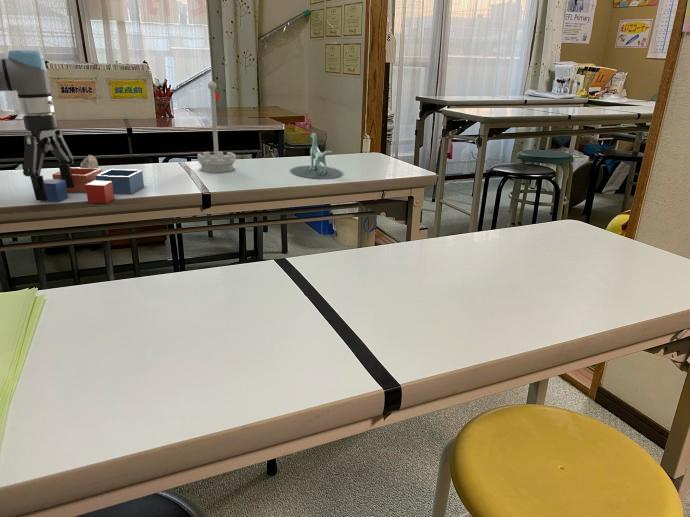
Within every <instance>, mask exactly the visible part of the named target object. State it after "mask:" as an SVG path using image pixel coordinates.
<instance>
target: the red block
mask: <svg viewBox="0 0 690 517" xmlns="http://www.w3.org/2000/svg"><path fill="white" fill-rule="evenodd" d="M85 186H86V193H85V194H86V199H87V203H88V204H108V203H110V202H111V201H113V200H115V194H114V193H113V186H112V181H92V182H90V183H88V184H86V185H85Z"/></svg>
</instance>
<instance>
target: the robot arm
mask: <svg viewBox="0 0 690 517" xmlns="http://www.w3.org/2000/svg"><path fill="white" fill-rule="evenodd" d="M7 56H8V58H0V92H13V91H16V94H17V97H18V98H17V99H18V102H19V108H20V112H21V114H23V116H22V120H23V125H24V129H25V130H26V131H28V132H30V135H29V136H28V135H27V136H26V135H25V136H23V143H24V153H23V168H22V174H23V176H25V177H29V178H30V181H31V185H32V188H33V194H34V198H35V201H37V202H48V201H47V200H48V198H47V193H46V189H45V184H44V180H45V179H44V176H43V175H41V172H42V167H43V163H44V158H45V155H46V154H47V153H48V152H49V151H50V153H51V154H52V155H53V157H54V158H55V159H56V160H57V161H58V162H59V164H58V169H59V172H60V174H61V179H62V180H65V181H66V187H67V188H74V185H73V180H72V175H71V169H70V168H71V165H73V164H74V157H73V154H72V152H71V150H70V148H69V147H68V145H67V143H66V140H65V138H64V136H63V132H62V130H61V129H59V125H58V120H57V116H56V115H55V114H54V113H55V106H54V103H55V102H54V100H53V98H52V92H51V86H50V81H49V76H48V71H47V66H46V63H45V59H44V55H43V53H42V52H41V51H39V50H35V49H34V50H33V49H31V50H26V49H25V50H23V49H22V50H16V49H15V50H14V49H13V50H9V51H8V55H7Z"/></svg>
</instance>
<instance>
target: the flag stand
mask: <svg viewBox="0 0 690 517" xmlns="http://www.w3.org/2000/svg"><path fill="white" fill-rule="evenodd" d="M207 88H208V89H209V92H210V93H209V94H210V108H211V123H212V124H211V126H212V139H213V140H212V141H213V154H211V152H210V151H203V152H202V153H197V162H198V163H199V164H200V167H201V171H202V172H206V173H229V172H231V171H234V164H235V163H236V153H234V152H232V151H231V152H230V151H228V152H226V154H224V152H223V151H219V139H218V138H219V136H218V120H217V119H218V118H217V108H216V107H217V105H216V104H217V101H219V99H220V98H221V95H220V94H219V93H218V92H216V90H217V83H216V82H215V81H213V80H212V81H209V82H207Z"/></svg>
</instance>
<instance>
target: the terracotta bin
mask: <svg viewBox="0 0 690 517" xmlns="http://www.w3.org/2000/svg"><path fill="white" fill-rule="evenodd" d="M70 169H71V175H72V180H73V185H74V188H67V193H80V194H81V193H82V194H83V193H84V194H87V193H86V186H85V185H86V184H88V183H90V182H92V181H96V175H98V174H101V173H102V171H103V170H102V168H99V169H92V168H80V167H70ZM51 176H52V179H57V180H62V179H61V174H60V171H57V172H54V173H52V175H51Z"/></svg>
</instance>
